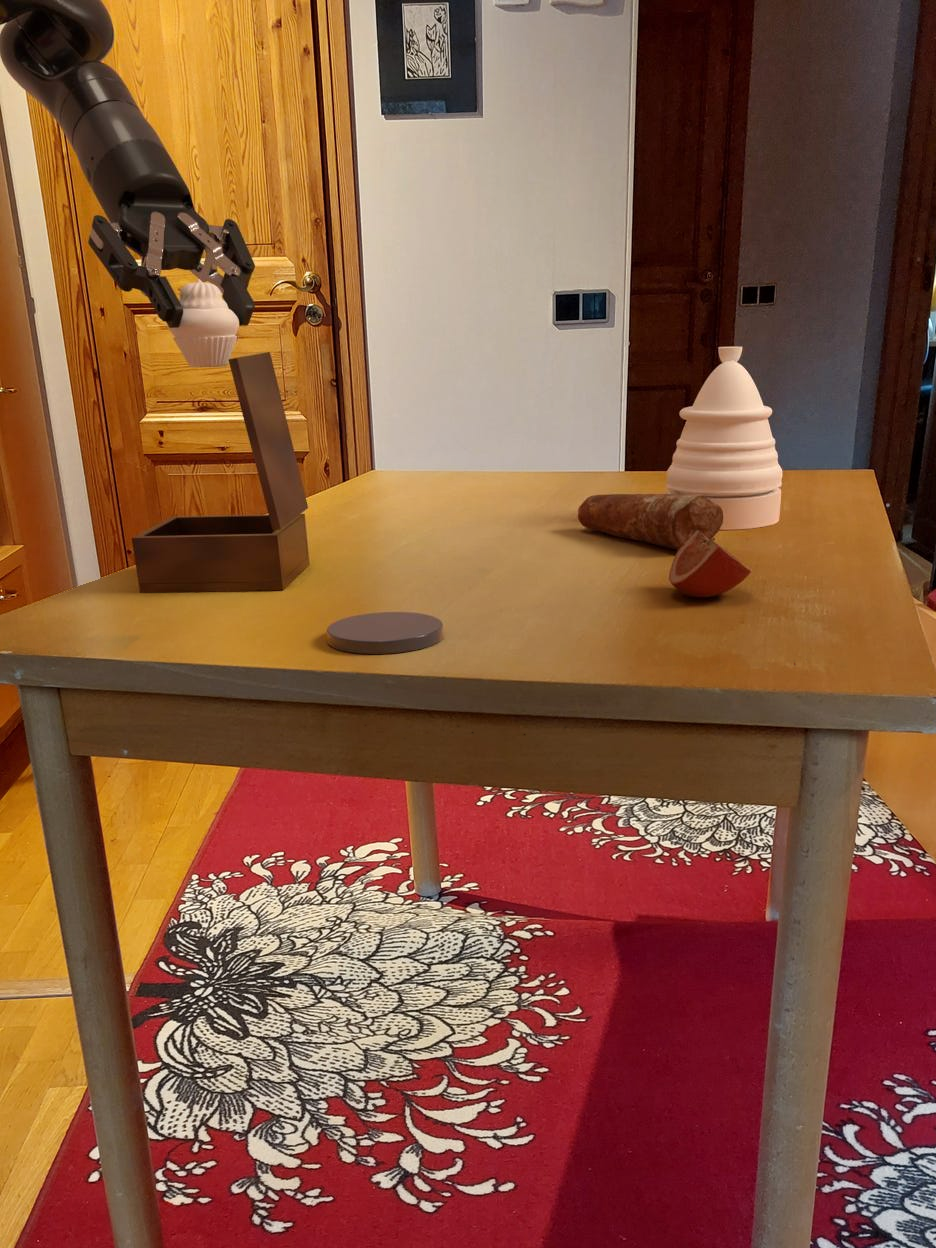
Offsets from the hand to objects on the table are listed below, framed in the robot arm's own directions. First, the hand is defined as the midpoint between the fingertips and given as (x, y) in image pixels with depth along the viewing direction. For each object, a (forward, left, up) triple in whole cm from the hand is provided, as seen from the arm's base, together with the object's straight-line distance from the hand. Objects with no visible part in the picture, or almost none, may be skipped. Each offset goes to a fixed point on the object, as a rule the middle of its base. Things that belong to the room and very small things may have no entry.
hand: (213, 318), depth 101 cm
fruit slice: (+43, -7, -23) cm, 49 cm away
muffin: (-1, +1, -4) cm, 4 cm away
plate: (+17, -20, -23) cm, 35 cm away
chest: (-2, +3, -23) cm, 23 cm away
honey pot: (+48, +30, -23) cm, 61 cm away
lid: (+3, +3, -10) cm, 11 cm away
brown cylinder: (+38, +18, -23) cm, 48 cm away
